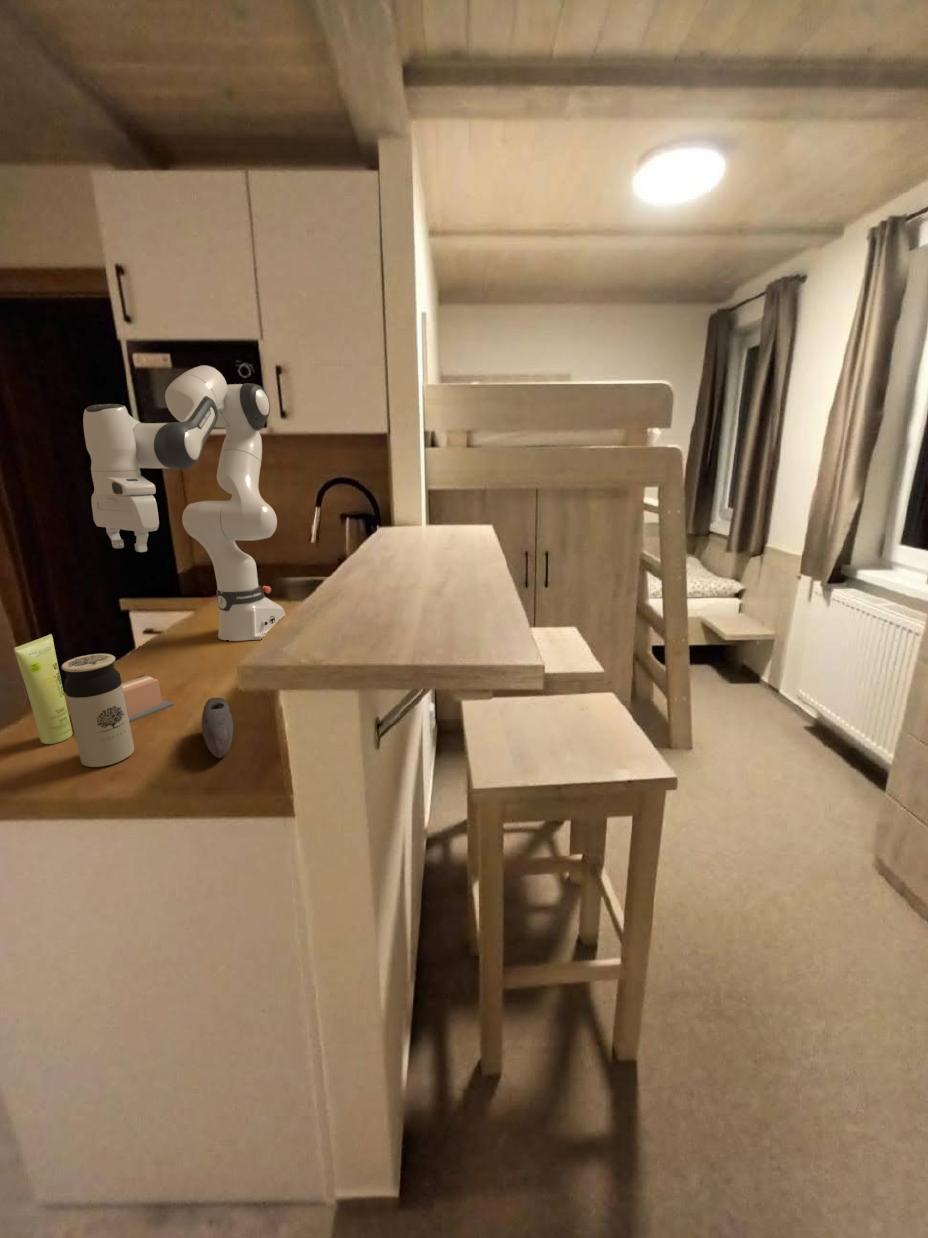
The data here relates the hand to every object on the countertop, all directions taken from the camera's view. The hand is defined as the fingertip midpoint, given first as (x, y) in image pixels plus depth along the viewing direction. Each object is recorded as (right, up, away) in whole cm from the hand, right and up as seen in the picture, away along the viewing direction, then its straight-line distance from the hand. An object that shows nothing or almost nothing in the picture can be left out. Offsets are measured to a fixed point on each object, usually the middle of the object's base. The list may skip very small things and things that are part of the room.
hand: (129, 549), depth 119 cm
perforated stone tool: (+29, -39, -19) cm, 52 cm away
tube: (-3, -38, -17) cm, 42 cm away
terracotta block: (+6, -34, -6) cm, 35 cm away
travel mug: (+11, -40, -23) cm, 47 cm away
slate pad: (+6, -34, -6) cm, 35 cm away
